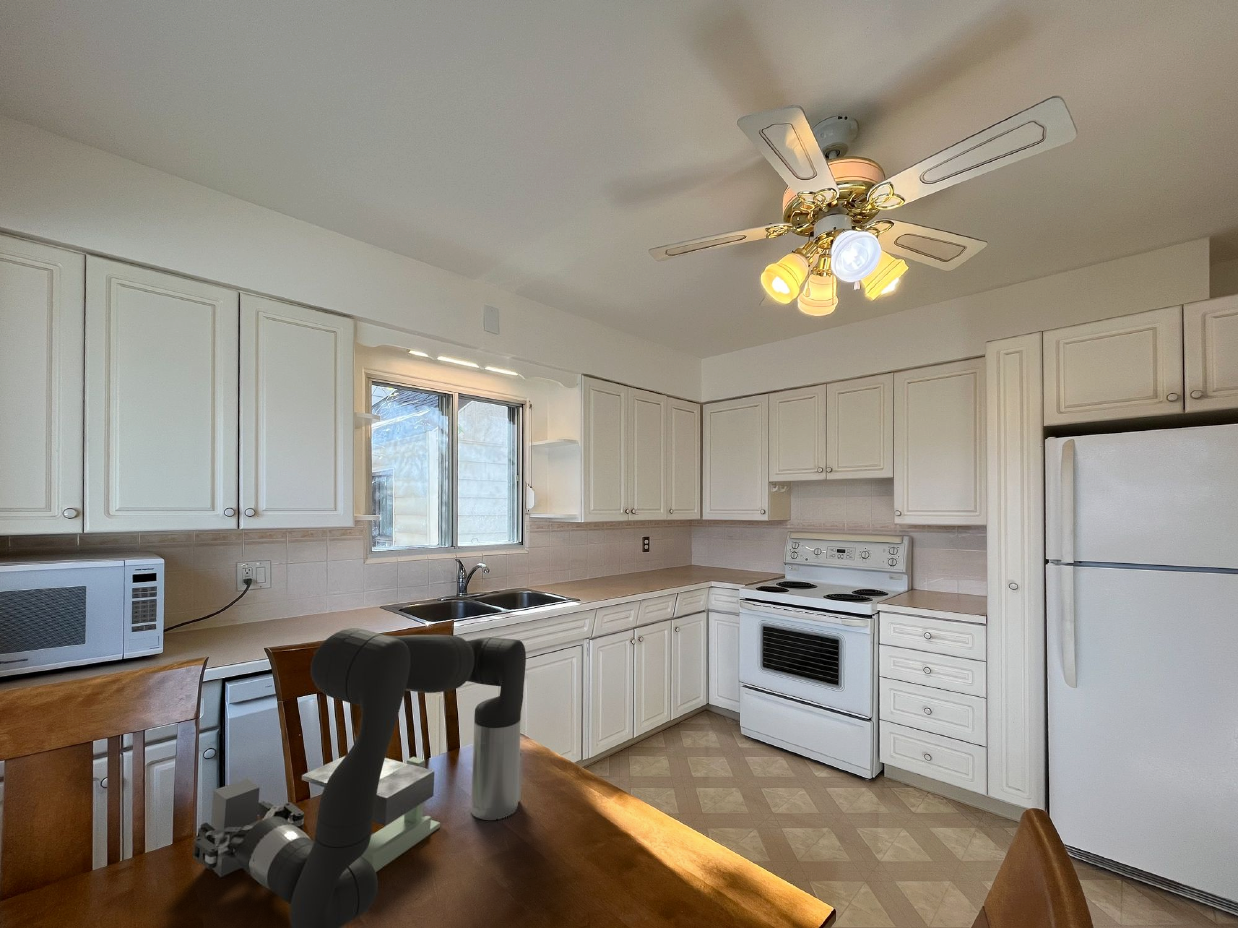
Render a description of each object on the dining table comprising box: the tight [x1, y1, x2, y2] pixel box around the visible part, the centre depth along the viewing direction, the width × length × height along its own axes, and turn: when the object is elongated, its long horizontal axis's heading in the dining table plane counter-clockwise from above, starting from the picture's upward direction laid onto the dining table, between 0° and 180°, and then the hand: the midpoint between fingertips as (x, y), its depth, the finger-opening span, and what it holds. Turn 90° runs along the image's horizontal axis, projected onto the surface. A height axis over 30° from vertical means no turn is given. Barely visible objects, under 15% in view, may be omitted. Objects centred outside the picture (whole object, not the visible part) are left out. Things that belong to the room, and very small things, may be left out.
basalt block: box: [210, 778, 261, 878], centre depth 95 cm, size 5×5×12 cm
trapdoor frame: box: [361, 756, 441, 873], centre depth 100 cm, size 18×8×12 cm, turn 155°
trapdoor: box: [301, 755, 435, 827], centre depth 103 cm, size 12×20×4 cm, turn 65°
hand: (232, 818), depth 95 cm, fingers open, 8 cm apart
